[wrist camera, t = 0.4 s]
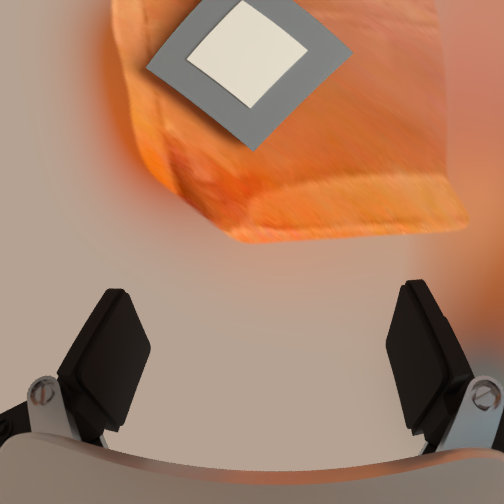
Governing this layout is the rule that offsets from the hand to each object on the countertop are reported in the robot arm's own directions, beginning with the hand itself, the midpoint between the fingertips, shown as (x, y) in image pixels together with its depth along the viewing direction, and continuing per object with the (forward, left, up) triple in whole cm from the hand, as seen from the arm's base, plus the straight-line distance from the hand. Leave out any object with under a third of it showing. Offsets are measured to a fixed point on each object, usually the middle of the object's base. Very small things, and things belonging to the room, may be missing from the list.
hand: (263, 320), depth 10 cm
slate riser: (-6, -9, -30) cm, 32 cm away
